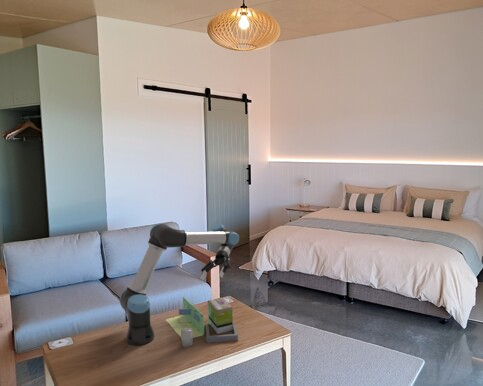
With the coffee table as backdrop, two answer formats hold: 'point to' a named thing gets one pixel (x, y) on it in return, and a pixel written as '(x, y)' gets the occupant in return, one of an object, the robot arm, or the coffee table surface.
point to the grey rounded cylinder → (187, 337)
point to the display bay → (222, 336)
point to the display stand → (188, 319)
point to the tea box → (220, 315)
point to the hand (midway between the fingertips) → (210, 277)
